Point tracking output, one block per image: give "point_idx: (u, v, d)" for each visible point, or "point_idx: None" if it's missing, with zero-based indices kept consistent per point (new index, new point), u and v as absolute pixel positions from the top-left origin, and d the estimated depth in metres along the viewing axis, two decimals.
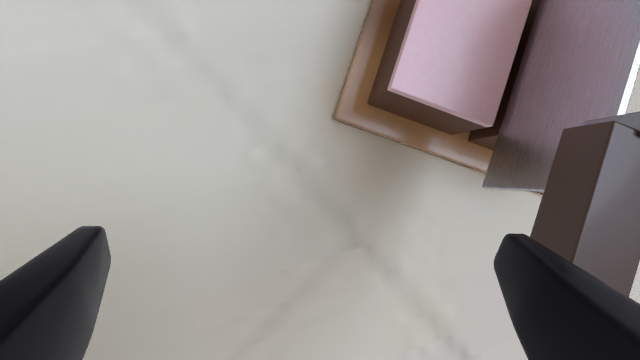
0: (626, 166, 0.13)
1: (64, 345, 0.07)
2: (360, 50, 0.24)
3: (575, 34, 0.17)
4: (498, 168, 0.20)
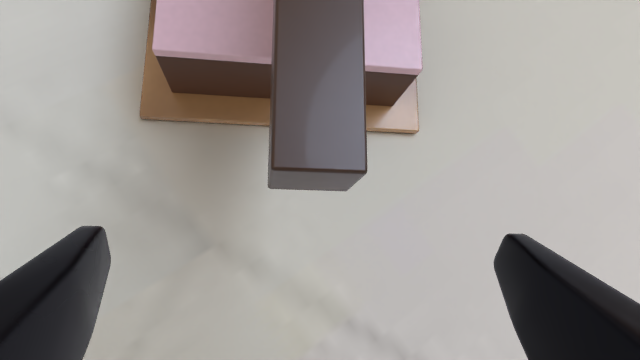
0: None
1: (64, 345, 0.07)
2: (150, 42, 0.23)
3: None
4: None
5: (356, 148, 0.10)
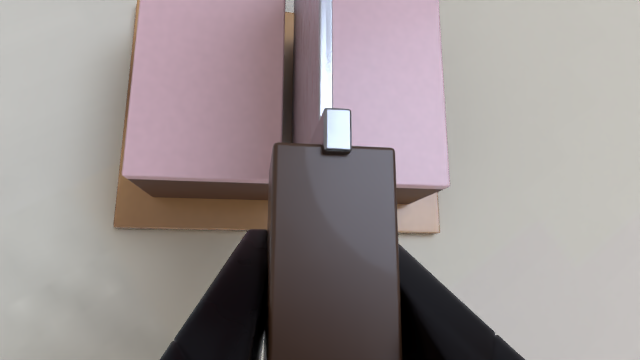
0: (320, 211, 0.07)
1: (260, 341, 0.08)
2: None
3: (302, 36, 0.13)
4: None
5: None
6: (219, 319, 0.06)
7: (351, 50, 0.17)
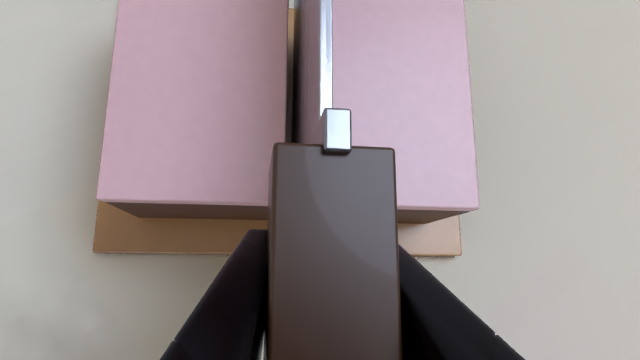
0: (320, 211, 0.07)
1: (260, 341, 0.08)
2: None
3: (302, 36, 0.13)
4: None
5: None
6: (219, 319, 0.06)
7: (365, 50, 0.15)
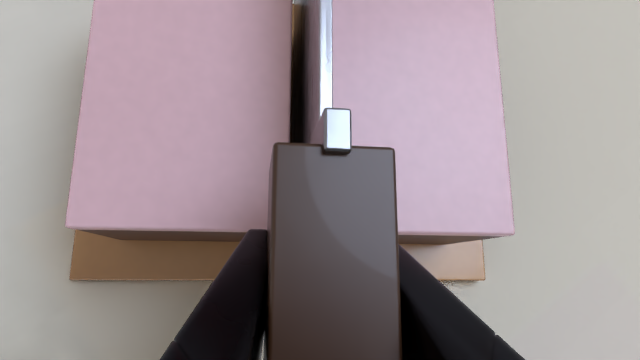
0: (320, 210, 0.07)
1: (260, 341, 0.08)
2: None
3: (302, 36, 0.13)
4: None
5: None
6: (219, 319, 0.06)
7: (381, 51, 0.13)
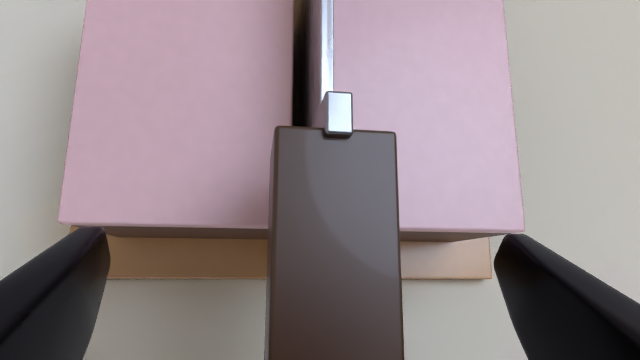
0: (322, 193, 0.07)
1: (64, 345, 0.07)
2: None
3: (303, 27, 0.13)
4: None
5: None
6: None
7: (386, 41, 0.12)
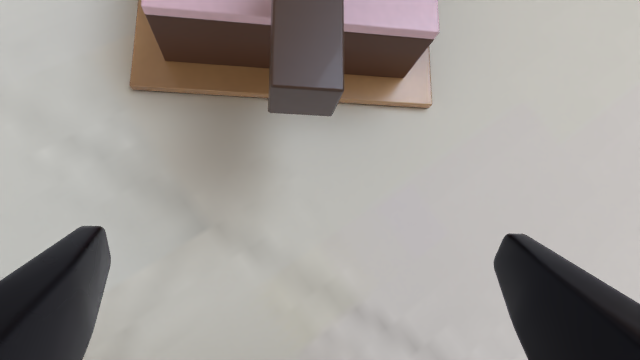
0: None
1: (64, 345, 0.07)
2: None
3: None
4: None
5: (336, 72, 0.13)
6: None
7: None
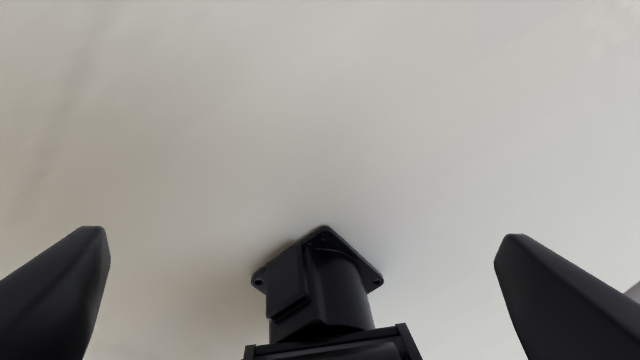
0: None
1: (64, 345, 0.07)
2: None
3: None
4: None
5: None
6: None
7: None
